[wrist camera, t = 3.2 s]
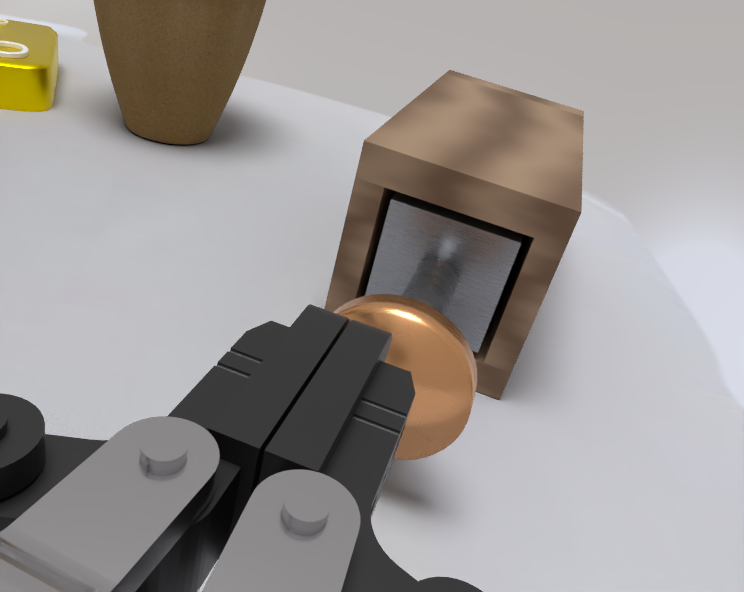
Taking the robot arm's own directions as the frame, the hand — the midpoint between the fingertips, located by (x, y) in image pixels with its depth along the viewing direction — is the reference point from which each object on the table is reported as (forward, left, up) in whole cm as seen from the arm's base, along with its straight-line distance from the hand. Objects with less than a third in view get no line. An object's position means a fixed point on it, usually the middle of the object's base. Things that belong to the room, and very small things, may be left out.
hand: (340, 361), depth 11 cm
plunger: (0, +22, -13) cm, 26 cm away
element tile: (-48, +41, -16) cm, 65 cm away
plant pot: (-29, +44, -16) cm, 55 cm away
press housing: (0, +34, -15) cm, 38 cm away
